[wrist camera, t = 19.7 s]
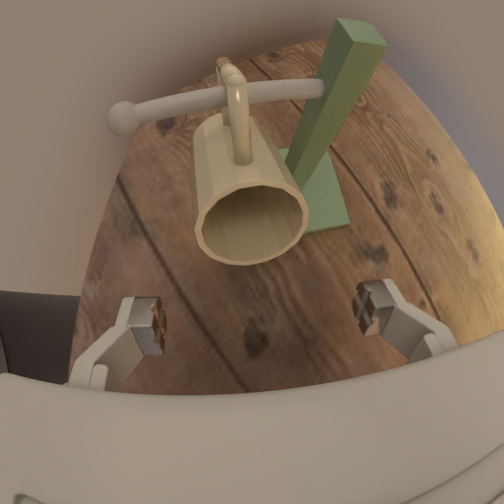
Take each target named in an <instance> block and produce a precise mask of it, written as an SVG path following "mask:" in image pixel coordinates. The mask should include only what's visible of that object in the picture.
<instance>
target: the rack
mask: <svg viewBox="0 0 504 504" xmlns="http://www.w3.org/2000/svg"><path fill="white" fill-rule="evenodd" d="M387 48H388V45H387V43H386V42H385V41H384V39H383V38H382V37H381V35H380V34H379V33H378V31H377V30H376V29H375V28H374V27H373V25H372V24H371V23H369V22H363V21H356V20H349V19H341V18H337V19H336V21H335V24H334V27H333V29H332V32H331V35H330V38H329V40H328V43H327V46H326V49H325V51H324V54H323V57H322V60H321V63H320V65H319V68H318V71H317V74H316V76H315V79H290V80H273V81H261V82H251V83H247V86H248V101H249V104H250V103H259V102H269V101H280V100H293V99H307V101H306V104H305V107H304V110H303V112H302V115H301V118H300V121H299V123H298V126H297V129H296V132H295V135H294V137H293V140H292V143H291V146H290V148H284V149H277V150H278V151H279V153H280V155H281V157H282V158H283V160H284V162H285V164H286V166H287V167H288V169H289V171H290V173H291V174H292V176H293V178H294V180H295V182H296V184H297V185H298V187H299V189H300V191H301V193H302V195H303V197H304V199H305V201H306V203H307V206H308V208H309V217H308V226H307V228H306V230H305V231H304V233H303V234H308V233H313V232H318V231H323V230H329V229H334V228H339V227H344V226H347V225H348V224H349V223H350V220H349V217H348V213H347V210H346V206H345V203H344V199H343V196H342V193H341V189H340V186H339V183H338V180H337V177H336V174H335V171H334V167H333V164H332V161H331V159H330V156H329V153H328V150H327V149H328V147H329V146H330V144H331V142H332V141H333V139H334V137H335V136H336V134H337V132H338V131H339V129H340V128H341V126H342V124H343V123H344V121H345V119H346V118H347V116H348V114H349V113H350V111H351V109H352V108H353V106H354V104H355V102H356V101H357V99H358V97H359V96H360V94H361V92H362V91H363V89H364V87H365V86H366V84H367V82H368V81H369V79H370V77H371V76H372V74H373V72H374V70H375V69H376V67H377V65H378V64H379V62H380V60H381V59H382V57H383V55H384V53H385V52H386V50H387ZM222 107H228V100H227V90H226V86H220V87H214V88H207V89H202V90H196V91H191V92H186V93H181V94H176V95H172V96H168V97H163V98H159V99H155V100H151V101H147V102H144V103H140V104H134V103H132V102H129V101H123V102H120V103H117V104H115V105H114V106H113V107H112V108H111V109H110V110H109V112H108V115H107V118H106V123H107V127H108V129H109V131H110V132H111V133H112V134H114V135H116V136H120V137H123V136H128V135H131V134H132V133H134V132H135V131H136V130H137V129H138V127H139V126H140V125H142V124H146V123H150V122H154V121H158V120H162V119H166V118H170V117H175V116H179V115H184V114H189V113H194V112H199V111H204V110H210V109H216V108H222Z"/></svg>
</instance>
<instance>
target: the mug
mask: <svg viewBox="0 0 504 504" xmlns="http://www.w3.org/2000/svg"><path fill="white" fill-rule="evenodd" d="M216 70H217V79H218V87H220V86H226V90H227V100H228V107H222V108H221V113H219V114H216V115H214V116H212V117H210V118H208V119H207V120H205V121H204V122H203V123H202V124H201V125H200V126H199V127H198V128H197V129H196V131H195V133H194V134H193V137H192V140H191V144H190V173H191V191H192V207H193V221H194V232H195V235H196V239H197V242H198V245H199V247H200V248H201V249H202V250H203V251H204V252H205V253H206V254H207V255H208V256H209V257H210V258H212V259H215V260H217V261H220V262H223V263H225V264H230V265H245V266H246V265H252V264H257V263H262V262H267V261H269V260H271V259H273V258H275V257H277V256H280V255H282V254H284V253H285V252H286V251H288V250H289V249H290V248H291V247H292V246H293V245H295V244H296V243H297V242H298V241H299V240H300V238H301V236H302V235H303V233H304V231H305V230H306V228H307V226H308V217H309V208H308V206H307V203H306V201H305V199H304V197H303V195H302V193H301V191H300V189H299V187H298V185H297V184H296V182H295V180H294V178H293V176H292V174H291V173H290V171H289V169H288V167H287V166H286V164H285V162H284V160H283V158H282V157H281V155H280V153H279V151H278V150H277V148H276V146H275V145H274V143H273V141H272V139H271V138H270V136H269V134H268V133H267V131H266V129H265V128H264V126H263V125H262V124H261V123H260V122H259V121H258V120H257V119H255V118H254V117H252V116H250V115H249V101H248V86H247V80H246V78H245V77H244V75H243V74H242V73H241V72H240V71H239V70H238V68H237V67H236V66H235V65H234V64H233V63H232V61H231V60H230V59H228V58H226V57H222V58H220V59H218V60H217V62H216Z"/></svg>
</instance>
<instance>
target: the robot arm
mask: <svg viewBox="0 0 504 504" xmlns="http://www.w3.org/2000/svg"><path fill="white" fill-rule="evenodd" d="M356 289H357V291H358V293H357V294H356V295H355V296H354V298H353V302H352V308H353V313H354V315H355V317H356V318H357V319H358V320H360V323H359V327H360V329H361V331H362V334H363V336H364V337H367V336H373V335H379V334H381V336H382V337H383V338H385V339H386V340H387V341H388V342H389V343H390V344H391V345H393V346H394V347H395V348H396V349H397V350H398V351H399V352H400V353H402V354H403V355H404V356H405V357H406V358H407V359H408V361H407V362H406V364H405V365H404V366H400V367H397V368H393V369H389V370H385V371H381V372H377V373H373V374H369V375H364V376H360V377H355V378H351V379H346V380H341V381H335V382H330V383H324V384H318V385H312V386H306V387H299V388H291V389H283V390H275V391H265V392H254V393H241V394H224V395H149V394H132V393H127V392H126V391H125V389H124V388H123V387H122V385H123V383H124V382H125V381H126V379H127V378H128V377H129V375H130V374H131V373H132V372H133V370H134V369H135V368H136V366H137V365H138V364H139V362H140V361H141V360H142V358H143V357H144V355H163V354H164V346H165V340H164V338H163V336H164V335H165V334H166V331H167V319H166V314H165V311H164V310H163V309H161V307H162V302H161V299H160V297H124V298H123V300H122V303H121V306H120V309H119V312H118V316H117V319H116V322H115V326H114V327H110V328H109V329H108V330H107V331H106V332H105V333H104V334H103V335H102V336H101V337H100V338H99V339H98V340H96V341H95V342H94V343H93V344H92V345H91V346H90V347H89V348H88V349H87V350H86V351H85V352H84V353H83V354H82V355H81V356H80V357H78V358H77V359H76V360H75V362H74V365H73V369H72V372H71V375H70V379H69V382H68V386H65V385H59V384H54V383H49V382H44V381H39V380H34V379H30V378H26V377H21V376H18V375H14V374H10V373H2V374H0V504H504V329H502V330H499V331H497V332H495V333H493V334H491V335H488V336H486V337H484V338H481V339H479V340H476V341H474V342H472V343H469V344H467V345H464V346H461V347H460V346H459V344H458V343H457V341H456V339H455V337H454V336H453V334H452V332H451V331H450V329H449V327H447V326H446V325H444V324H443V323H441V322H440V321H438V320H436V319H435V318H433V317H432V316H430V315H429V314H427V313H425V312H424V311H422V310H421V309H419V308H417V307H416V306H414V305H413V304H411V303H407V302H406V301H405V299H404V297H403V296H402V294H401V292H400V291H399V289H398V288H397V286H396V285H395V283H394V281H393V280H392V279H391V278H386V279H380V280H371V281H363V282H359V283H358V285H357V288H356Z"/></svg>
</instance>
